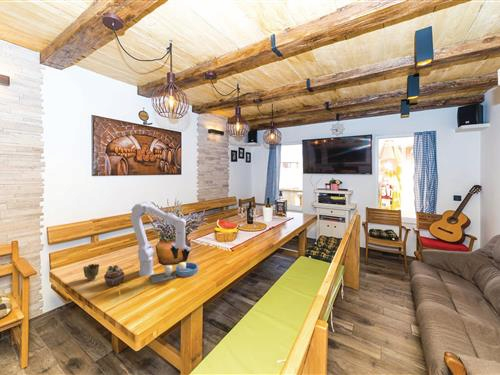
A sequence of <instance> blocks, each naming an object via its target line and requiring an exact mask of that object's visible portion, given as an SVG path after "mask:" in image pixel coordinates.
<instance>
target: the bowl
mask: <svg viewBox="0 0 500 375" xmlns="http://www.w3.org/2000/svg"><path fill="white" fill-rule="evenodd" d="M185 263H186V271H180V270H179V264H177V265H176V266H175V269H174V270H175V271H174V274H175V276H177V277H182V278H185V277H186V278H187V277H188V278H189V277H192V276H195V275H196V274H197V273H198V272H199V265H198V264H197V263H195V262H188V261H186V262H185Z"/></svg>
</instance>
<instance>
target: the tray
mask: <svg viewBox="0 0 500 375" xmlns="http://www.w3.org/2000/svg"><path fill="white" fill-rule="evenodd" d="M177 277H178V276H177V275H176V273H175V271H173V270H172V276H170V277H165V271H163V272H159V273H154V274H152V275H149V278H150V280H151V283H152V285H155V284H159V283H160V284H161V283H163V282H164V283H165V282H169V281H173V280H175V279H177Z"/></svg>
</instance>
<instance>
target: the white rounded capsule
mask: <svg viewBox="0 0 500 375" xmlns="http://www.w3.org/2000/svg"><path fill="white" fill-rule="evenodd" d="M186 263H187V262H186V261H185V262H183V261H181V262H179V263H178V265H179V270H180V271H186Z"/></svg>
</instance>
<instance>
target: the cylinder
mask: <svg viewBox="0 0 500 375" xmlns="http://www.w3.org/2000/svg"><path fill="white" fill-rule="evenodd" d="M172 271H173V265H172V264H166V265H164V272H165V277H170V276H172Z"/></svg>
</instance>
